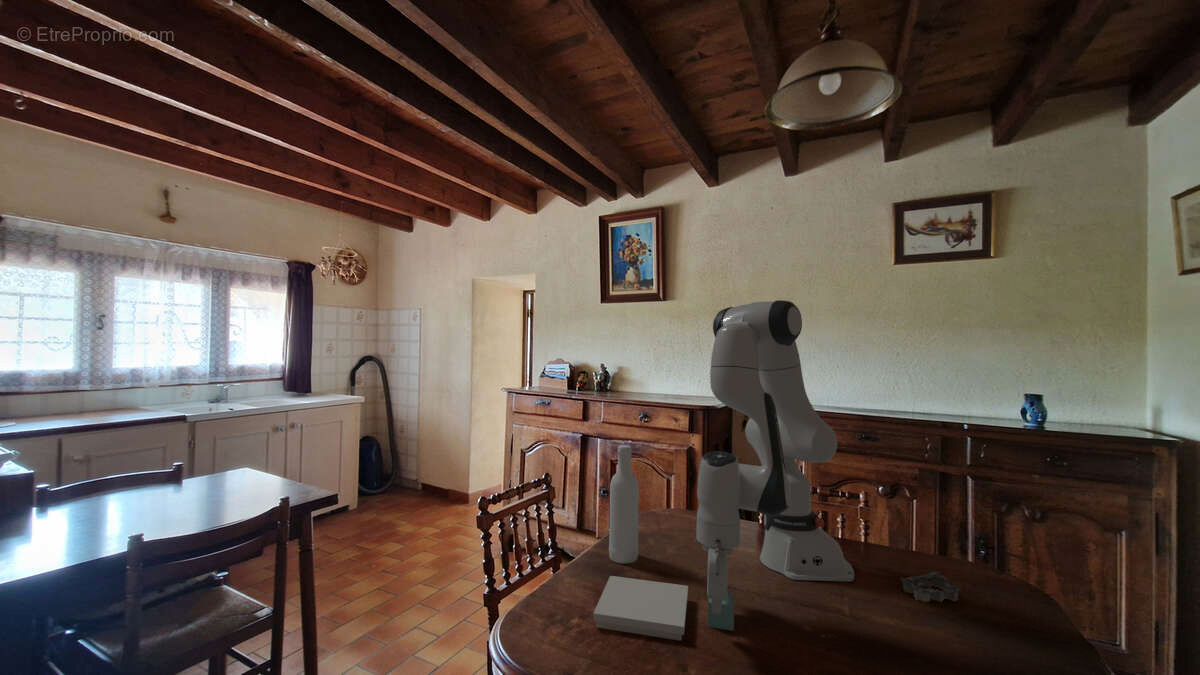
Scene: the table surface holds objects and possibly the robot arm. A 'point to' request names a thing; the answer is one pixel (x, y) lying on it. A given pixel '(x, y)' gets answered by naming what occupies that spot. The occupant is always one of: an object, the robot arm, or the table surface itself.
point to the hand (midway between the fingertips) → (716, 600)
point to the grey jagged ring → (923, 584)
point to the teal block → (722, 614)
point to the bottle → (624, 510)
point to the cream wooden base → (643, 607)
